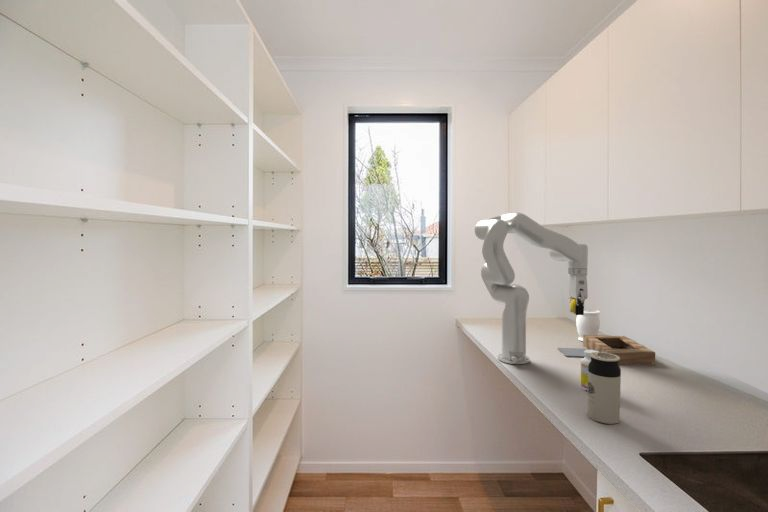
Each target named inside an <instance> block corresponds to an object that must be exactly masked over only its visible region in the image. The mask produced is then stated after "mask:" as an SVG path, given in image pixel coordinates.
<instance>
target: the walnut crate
mask: <svg viewBox="0 0 768 512" xmlns="http://www.w3.org/2000/svg"><path fill="white" fill-rule="evenodd" d="M582 346H583V347H584V348H585V347H586V348H585V349H587V350H595V351H599V352H605V353H611V354H614V355H617V356H619V357H620V360H619V362H618V365H635V364H640V365H641V366H655V365H656V351H653V350H651V349H650V348H649V347H646V346H644V345H642V344H640V343H638V342H637V341H635V340H633V339H632V338H629V337H627V336H625V335H609V334H608V335H607V334H605V335H603V334H598V335H583V341H582ZM617 347H623V348H617ZM640 365H639V366H640Z"/></svg>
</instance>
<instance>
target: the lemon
mask: <svg viewBox="0 0 768 512" xmlns="http://www.w3.org/2000/svg"><path fill="white" fill-rule="evenodd" d="M578 302H579V300H578ZM569 303H570V304H569V308H570V309H571V311H572V312H571V311H570V312H571V313H572V314H575V308H576V299H575V298H574V299H573V300H572V301H571V302H569ZM575 315H576V314H575Z"/></svg>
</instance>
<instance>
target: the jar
mask: <svg viewBox="0 0 768 512" xmlns="http://www.w3.org/2000/svg"><path fill="white" fill-rule="evenodd" d="M600 314H601V311H600V310H597V309H591V308H584V315H576V318H575V326H576V331H577V334H578V338H577V339H578V341H579V342H583V335H599V330H600V324H601V319H600Z"/></svg>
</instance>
